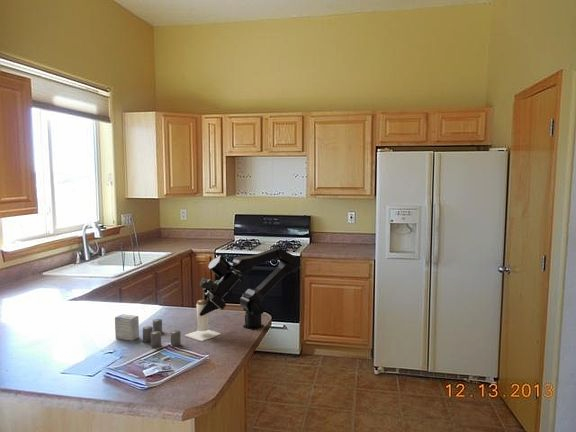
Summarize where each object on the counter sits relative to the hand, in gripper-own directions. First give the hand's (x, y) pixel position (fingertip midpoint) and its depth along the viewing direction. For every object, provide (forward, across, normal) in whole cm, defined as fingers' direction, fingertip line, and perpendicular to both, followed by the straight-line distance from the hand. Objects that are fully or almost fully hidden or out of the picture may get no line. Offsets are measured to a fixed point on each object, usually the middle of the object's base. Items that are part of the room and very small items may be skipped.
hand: (199, 313), depth 165 cm
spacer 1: (+20, -2, -8) cm, 21 cm away
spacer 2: (+17, -10, -4) cm, 20 cm away
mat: (+5, 0, +7) cm, 9 cm away
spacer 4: (+13, +6, -1) cm, 15 cm away
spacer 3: (+18, +5, -6) cm, 20 cm away
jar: (+4, 0, +6) cm, 7 cm away
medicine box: (+25, -8, -12) cm, 29 cm away
